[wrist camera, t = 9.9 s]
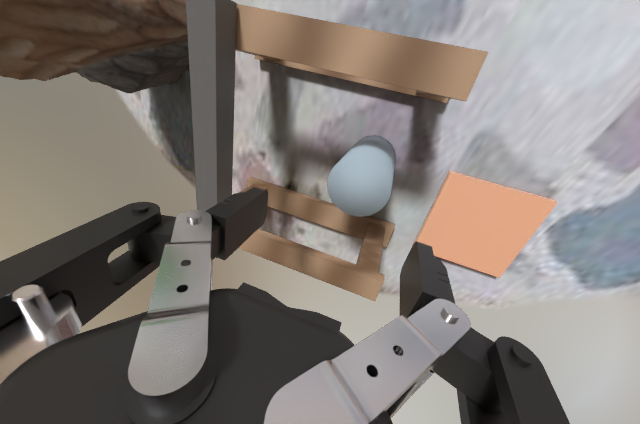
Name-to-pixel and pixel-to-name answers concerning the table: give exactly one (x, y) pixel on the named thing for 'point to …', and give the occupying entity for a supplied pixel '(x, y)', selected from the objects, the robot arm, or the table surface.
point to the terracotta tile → (481, 222)
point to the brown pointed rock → (95, 41)
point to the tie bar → (212, 96)
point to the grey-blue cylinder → (363, 177)
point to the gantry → (358, 66)
